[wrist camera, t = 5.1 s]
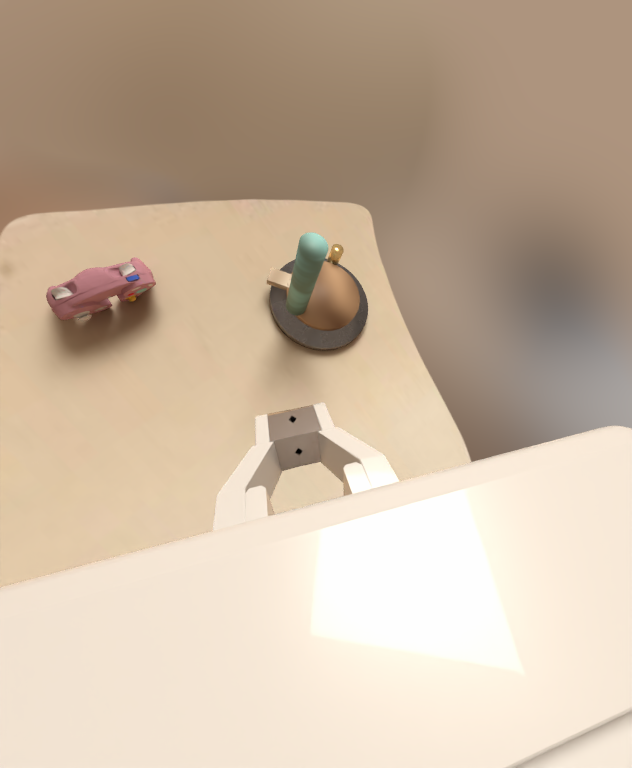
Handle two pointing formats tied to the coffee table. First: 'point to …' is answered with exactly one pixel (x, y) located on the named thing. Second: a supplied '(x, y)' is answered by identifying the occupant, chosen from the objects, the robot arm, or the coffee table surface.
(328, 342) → the base plate
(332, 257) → the gold knob
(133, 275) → the video game controller
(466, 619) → the robot arm
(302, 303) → the teal arcade joystick
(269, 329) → the coffee table surface
